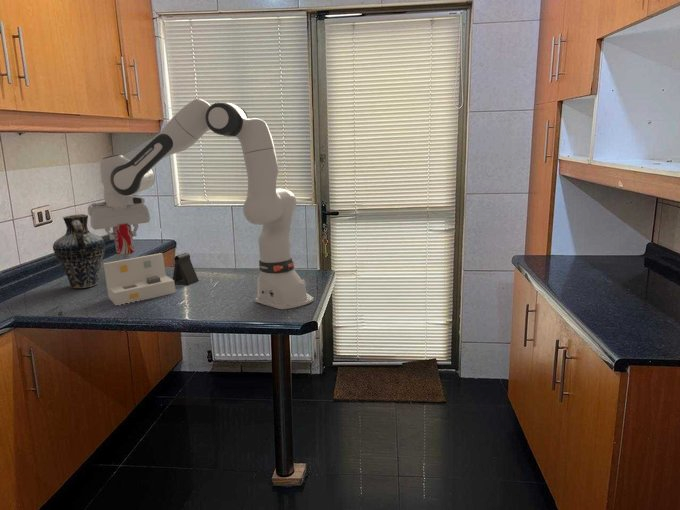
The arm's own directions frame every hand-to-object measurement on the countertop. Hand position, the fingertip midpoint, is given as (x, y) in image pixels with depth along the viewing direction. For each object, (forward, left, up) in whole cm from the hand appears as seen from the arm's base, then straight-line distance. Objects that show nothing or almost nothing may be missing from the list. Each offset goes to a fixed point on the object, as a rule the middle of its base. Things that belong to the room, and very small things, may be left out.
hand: (123, 237), depth 189 cm
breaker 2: (0, -9, -21) cm, 23 cm away
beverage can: (0, 0, -7) cm, 7 cm away
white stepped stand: (+1, -4, -24) cm, 24 cm away
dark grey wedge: (+7, -23, -24) cm, 34 cm away
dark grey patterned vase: (+34, +10, -24) cm, 43 cm away
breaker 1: (0, 0, -23) cm, 23 cm away
